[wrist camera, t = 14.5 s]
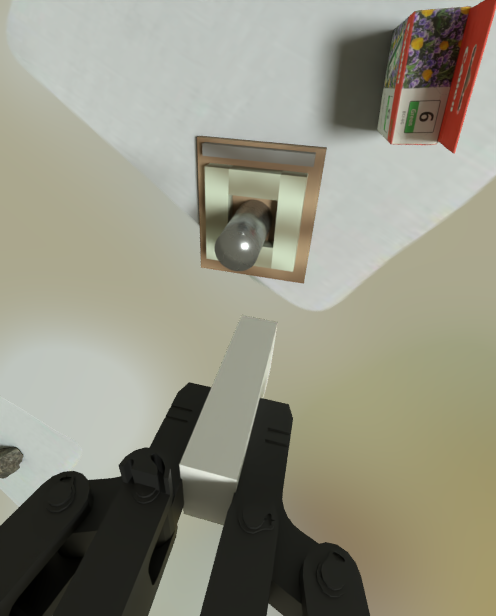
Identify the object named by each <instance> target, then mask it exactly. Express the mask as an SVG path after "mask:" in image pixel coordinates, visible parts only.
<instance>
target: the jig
mask: <svg viewBox="0 0 496 616" xmlns="http://www.w3.org/2000/svg"><path fill="white" fill-rule="evenodd" d="M326 149H327V148H326V147H315V146H304V145H293V144H283V143H272V142H261V141H250V140H240V139H229V138H218V137H207V136H198V137H197V153H198V185H199V217H200V248H201V267H202V268H209V269H214V270H221V271H227V272H234V273H240V274H246V275H253V276H259V277H266V278H272V279H278V280H285V281H291V282H298V283H304V279H305V273H306V267H307V261H308V255H309V250H310V244H311V238H312V232H313V226H314V220H315V214H316V208H317V202H318V196H319V190H320V185H321V179H322V173H323V167H324V161H325V155H326ZM249 200H258V201H261V202H263V203H264V204H266V205H267V206H268V207H269V209H270V211H271V213H272V217H273V221H272V225H271V227H270V230H269V232H268V235H267V237H266V239H265V242H264V244H263V246H262V249H261V251H260V253H259V256H258V258H257V260H256V262H255V264H254V265H253V266H252V267H251V268H250V269H248V270H245V271H233V270H230V269H228V268H226V267H224V266H223V265H222V264H221V263H220V262H219V261H218V259H217V257H216V254H215V242H216V240H217V238H218V237H219V236H220V234H221V233H222V231H223V230H224V228H225V227H226V226H227V224H228V223H229V221H230V220H231V218H232V217H233V216H234V214H235V213H236V211H237V210H238V208H239V207H240V206H241V205H242V204H243V203H244V202H246V201H249Z"/></svg>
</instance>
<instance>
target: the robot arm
mask: <svg viewBox="0 0 496 616" xmlns="http://www.w3.org/2000/svg"><path fill="white" fill-rule="evenodd" d="M277 324H278V322H275V321H270V320H265V319H260V318H255V317H250V316H244V315H241V318H240V320H239V322H238V325H237V327H236V330H235V332H234V334H233V337H232V339H231V342H230V344H229V346H228V349H227V351H226V354H225V356H224V359H223V361H222V363H221V366H220V368H219V371H218V373H217V376H216V378H215V380H214V383H213V385H212V387H207V386H203V385H199V384H194V383H188V384H187V385H186V386H185V387H184V388H182V389H181V390H180V391H179V392H178V393H177V395H176V397H175V399H174V401H173V403H172V406H171V408H170V409H169V411H168V413H167V415H166V418H165V419H164V420H163V422H162V424H161V426H160V428H159V430H158V432H157V434H156V436H155V438H154V440H153V442H152V444H151V446H150V448H142V449H138V450H135V451H133V452H132V453H130V454H129V455H127V456H126V457H125V458H124V459H123V461H122V462H121V463H120V464H119V469H120V472H121V476H120V477H116V478H108V479H96V480H87V479H86V477H85V476H84V475H83V474H81V473H78V472H75V471H67V472H62V473H60V474H57V475H55V476H53V477H51V478H50V479H49V480H47V481H46V482H45V483H43V484H42V485H41V486H40V487H39V488H38V489H37V490H36V491H35V492H34V493H33V494H32V495H31V496H30V497H29V498H28V499H27V500H26V501H25V502H24V503H23V504H22V505H21V506H20V507H19V508H18V509H17V510H16V511H15V512H14V513H13V514H12V515H11V516H10V517H9V518H8V519H7V520H6V521H5V522H4V523H3V524H2V525H1V526H0V616H148V614H149V611H150V608H151V606H152V603H153V600H154V597H155V594H156V592H157V589H158V586H159V583H160V580H161V578H162V575H163V572H164V569H165V566H166V563H167V561H168V558H169V555H170V552H171V550H172V547H173V544H174V541H175V538H176V534H177V523H178V520H179V517H180V514H181V512H182V509H183V511H184V514H187V515H190V516H194V517H197V518H200V519H204V520H207V521H211V522H214V523H218V524H221V525H224V527H223V530H222V534H221V538H220V542H219V545H218V549H217V553H216V557H215V561H214V565H213V569H212V572H211V576H210V580H209V583H208V587H207V591H206V595H205V598H204V602H203V606H202V610H201V614H200V616H266V615H267V608H268V603H269V604H271V606H272V607H274V608H275V609H276V610H278V612H280V613H281V614H282V615H283V616H370V613H369V609H368V605H367V600H366V596H365V591H364V587H363V583H362V579H361V575H360V573H359V570H358V567H357V565H356V563H355V561H354V560H353V559H352V557H351V556H350V555H349V553H348V552H347V551H345V550H344V549H342V548H341V547H339V546H338V545H336V544H331V543H327V542H325V543H321V544H318V543H317V542H316V541H314V540H313V539H311V538H310V537H308V536H307V535H306V534H304V533H303V532H302V531H300V530H299V529H298V528H297V527H296V526H294V525H293V524H292V522H291V521H290V519H289V518H288V517H287V514H286V512H285V510H284V506H283V502H282V493H283V485H284V478H285V471H286V464H287V457H288V450H289V443H290V434H291V429H292V422H293V417H292V414H291V410H290V407H289V404H285V403H281V402H276V401H272V400H267V399H263V398H264V394H265V390H266V385H267V381H268V377H269V372H270V369H271V362H272V356H273V349H274V343H275V336H276V330H277Z"/></svg>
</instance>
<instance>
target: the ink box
mask: <svg viewBox="0 0 496 616" xmlns="http://www.w3.org/2000/svg"><path fill="white" fill-rule="evenodd" d="M495 10H496V0H485V1H483V2H481V3H479V4H478V5H476V6H474V7H471V6H467V7H457V8H443V9H430V10H419V11H415V12H413V13H412V14H411V15H410V16H409V17H408V18H407V19H406V20H405V21H404V22H403V23H401V24H400V25H399V26H398V27H397V28H396V29H394V31H393V35H392V40H391V47H390V52H389V57H388V64H387V70H386V75H385V82H384V89H383V94H382V101H381V107H380V114H379V121H378V127H377V130H378V131H379V132H380V133H381V134H382V135H383V137H384V138H385V139H386V140H387V141H388V142H389V143H390V144H393V145H394V144H397V145H401V144H405V145H435V144H437V143H438V142H440V143H441V144H442V145H443V146H444V147H446V148H447V149H448V150H450V151H451V152H452V153H455V151H456V147H457V143H458V140H459V136H460V133H461V129H462V125H463V122H464V118H465V115H466V111H467V107H468V104H469V101H470V97H471V94H472V91H473V88H474V84H475V81H476V77H477V74H478V70H479V67H480V63H481V60H482V56H483V52H484V49H485V45H486V42H487V38H488V34H489V31H490V27H491V24H492V21H493V17H494V14H495Z"/></svg>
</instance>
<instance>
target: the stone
mask: <svg viewBox="0 0 496 616" xmlns="http://www.w3.org/2000/svg"><path fill="white" fill-rule="evenodd" d="M22 458H23V455H22V454H21V452H20V451H19V450H18V449H17V448H14V447H10V448H5V449H0V478H6V477H8V476H9V475H10V474H12V473H14V472H15V471H17V470H18V469H19V468H20V466H19V464H20V463H21V462H22Z"/></svg>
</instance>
